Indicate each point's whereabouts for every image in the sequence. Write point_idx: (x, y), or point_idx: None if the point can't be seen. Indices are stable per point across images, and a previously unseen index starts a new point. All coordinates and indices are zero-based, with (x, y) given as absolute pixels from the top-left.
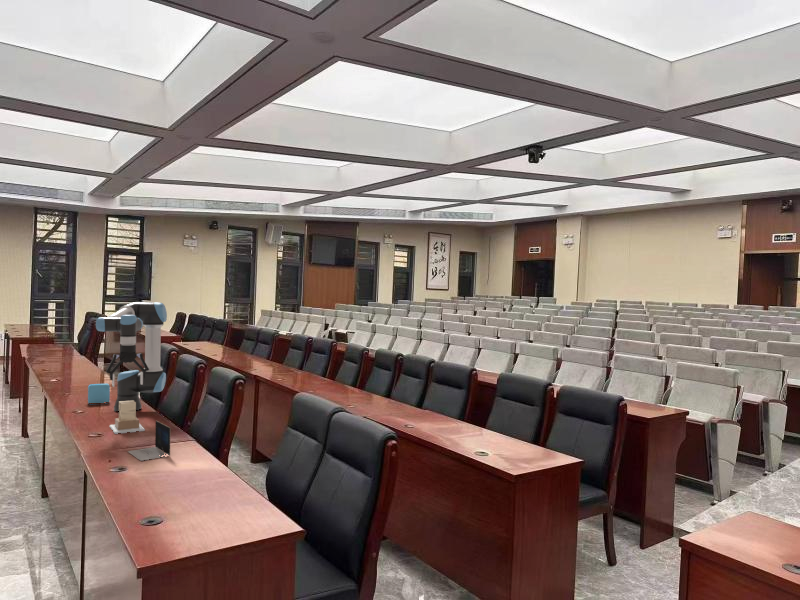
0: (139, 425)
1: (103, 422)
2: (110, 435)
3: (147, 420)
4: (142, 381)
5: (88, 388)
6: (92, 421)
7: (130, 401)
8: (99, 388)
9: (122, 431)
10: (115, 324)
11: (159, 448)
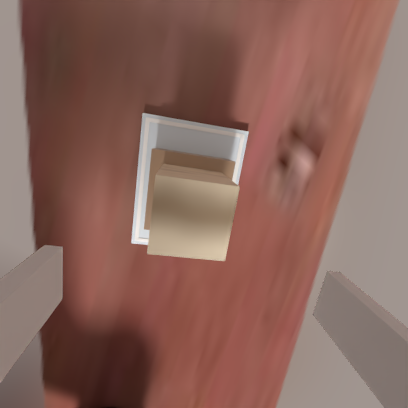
0: (143, 184)
1: (217, 314)
2: (264, 121)
3: (89, 274)
4: (24, 265)
5: None
6: (238, 341)
7: (172, 226)
8: None
9: (223, 127)
10: None
11: None
